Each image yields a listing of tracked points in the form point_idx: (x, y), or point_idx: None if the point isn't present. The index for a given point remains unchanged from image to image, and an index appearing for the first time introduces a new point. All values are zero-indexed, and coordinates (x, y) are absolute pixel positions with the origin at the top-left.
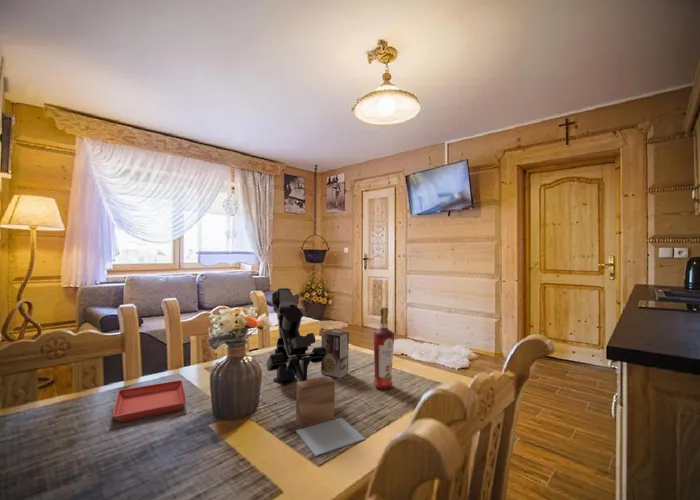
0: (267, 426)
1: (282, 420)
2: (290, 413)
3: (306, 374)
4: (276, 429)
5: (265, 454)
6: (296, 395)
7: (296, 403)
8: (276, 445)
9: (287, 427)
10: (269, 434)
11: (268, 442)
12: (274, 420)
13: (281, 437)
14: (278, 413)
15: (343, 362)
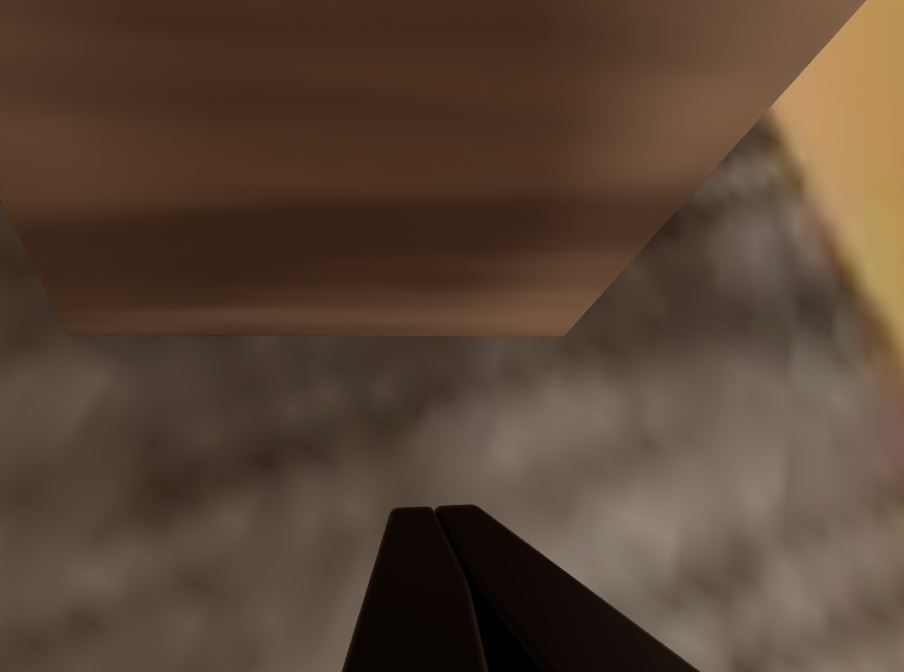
0: (880, 393)
1: (710, 440)
2: (580, 576)
3: (380, 643)
4: (792, 290)
5: (892, 14)
6: (740, 136)
7: (668, 209)
8: (809, 64)
9: (679, 268)
10: (861, 241)
11: (871, 133)
12: (801, 487)
13: (758, 141)
14: (738, 656)
15: None
